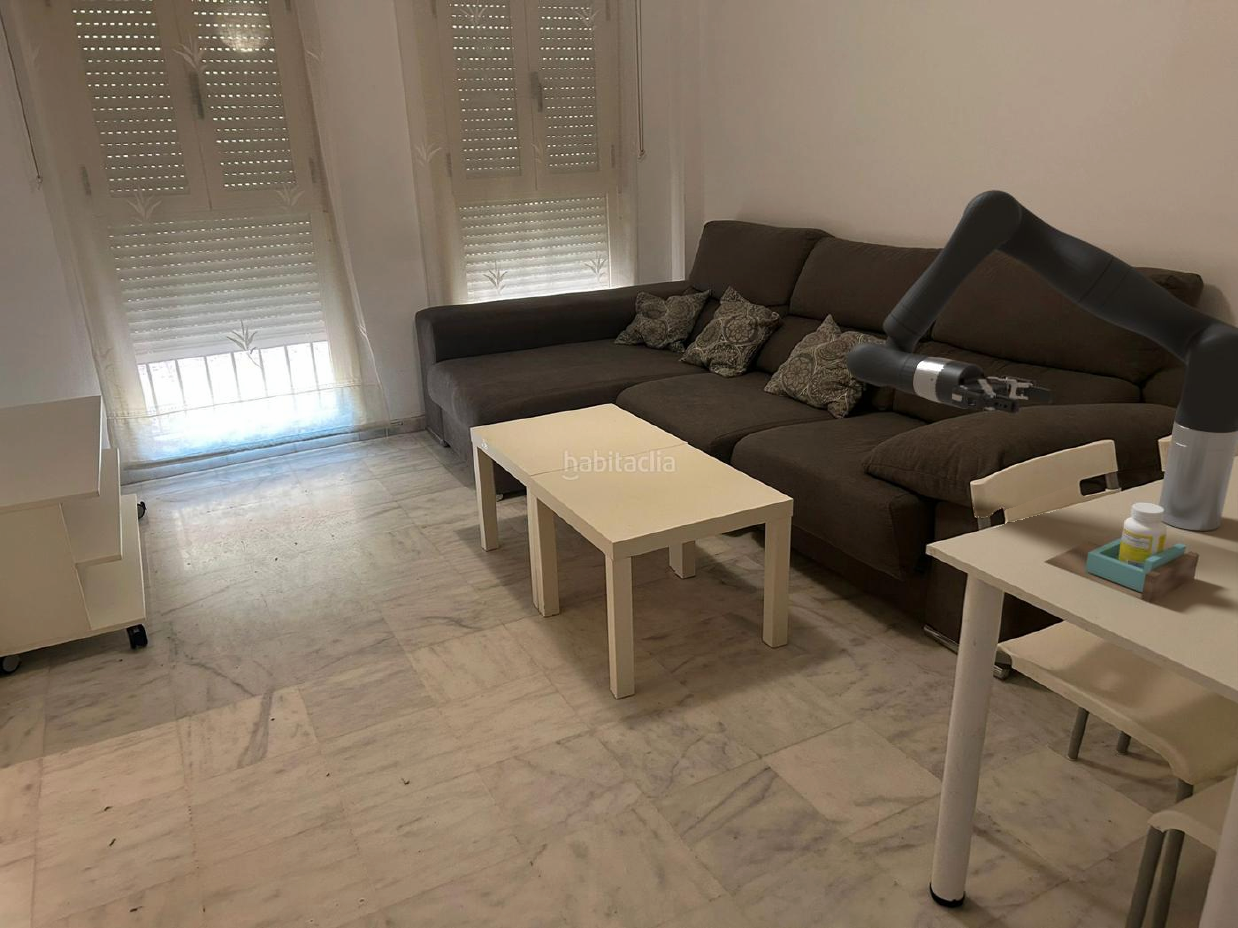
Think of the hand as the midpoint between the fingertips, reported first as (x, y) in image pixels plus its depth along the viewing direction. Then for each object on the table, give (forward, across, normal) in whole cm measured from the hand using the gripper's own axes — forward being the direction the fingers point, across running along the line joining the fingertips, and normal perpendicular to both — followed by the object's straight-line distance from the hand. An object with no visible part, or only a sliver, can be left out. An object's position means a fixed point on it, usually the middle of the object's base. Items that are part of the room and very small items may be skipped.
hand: (1034, 402), depth 139 cm
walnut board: (+16, 0, +24) cm, 29 cm away
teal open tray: (+19, 0, +22) cm, 29 cm away
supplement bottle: (+19, 0, +21) cm, 29 cm away
